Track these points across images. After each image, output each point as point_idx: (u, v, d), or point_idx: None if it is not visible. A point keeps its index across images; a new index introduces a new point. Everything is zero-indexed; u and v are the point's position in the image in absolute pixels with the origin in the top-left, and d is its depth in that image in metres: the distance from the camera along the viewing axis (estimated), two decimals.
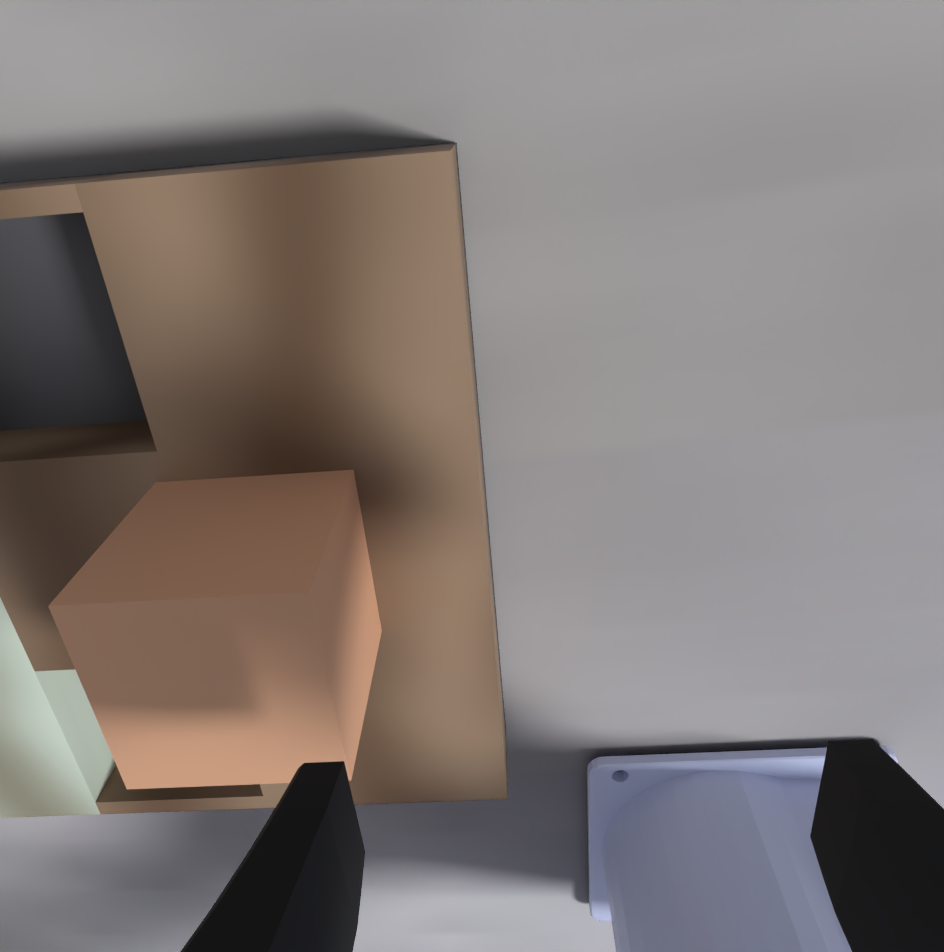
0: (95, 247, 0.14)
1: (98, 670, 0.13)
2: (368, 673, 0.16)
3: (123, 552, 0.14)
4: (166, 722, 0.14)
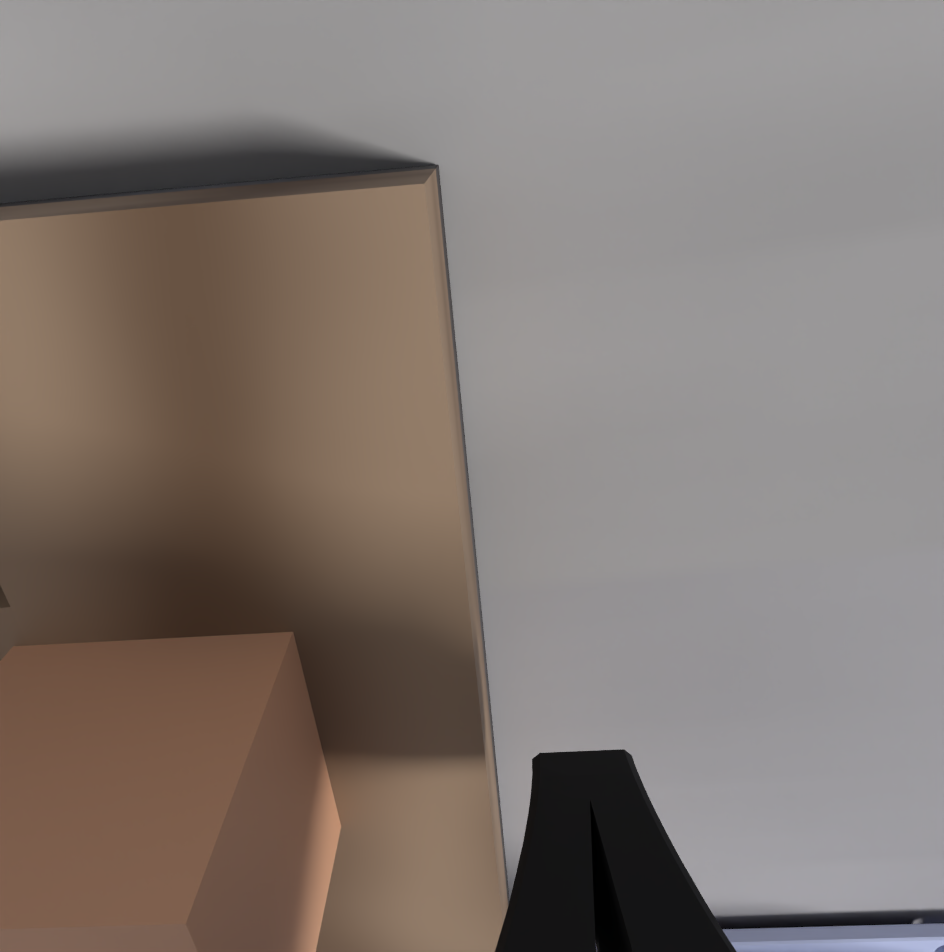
0: None
1: None
2: (315, 919, 0.12)
3: None
4: None
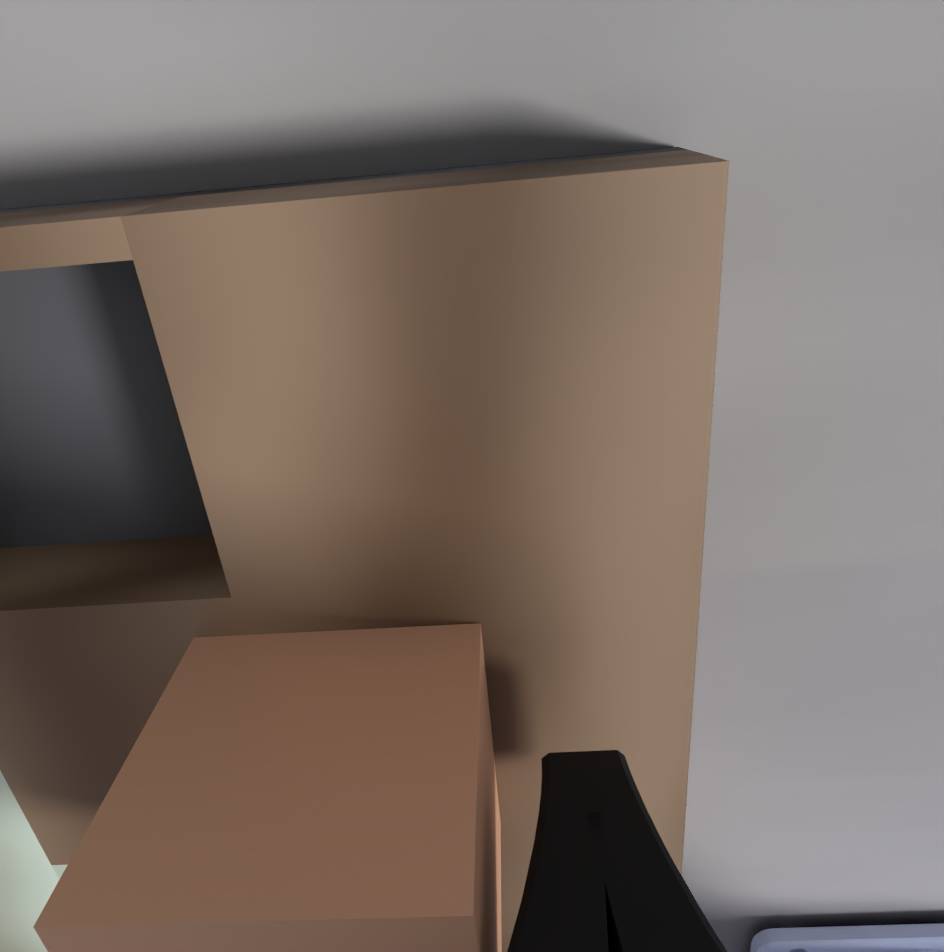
0: (150, 313, 0.09)
1: None
2: (500, 914, 0.11)
3: (153, 793, 0.09)
4: None
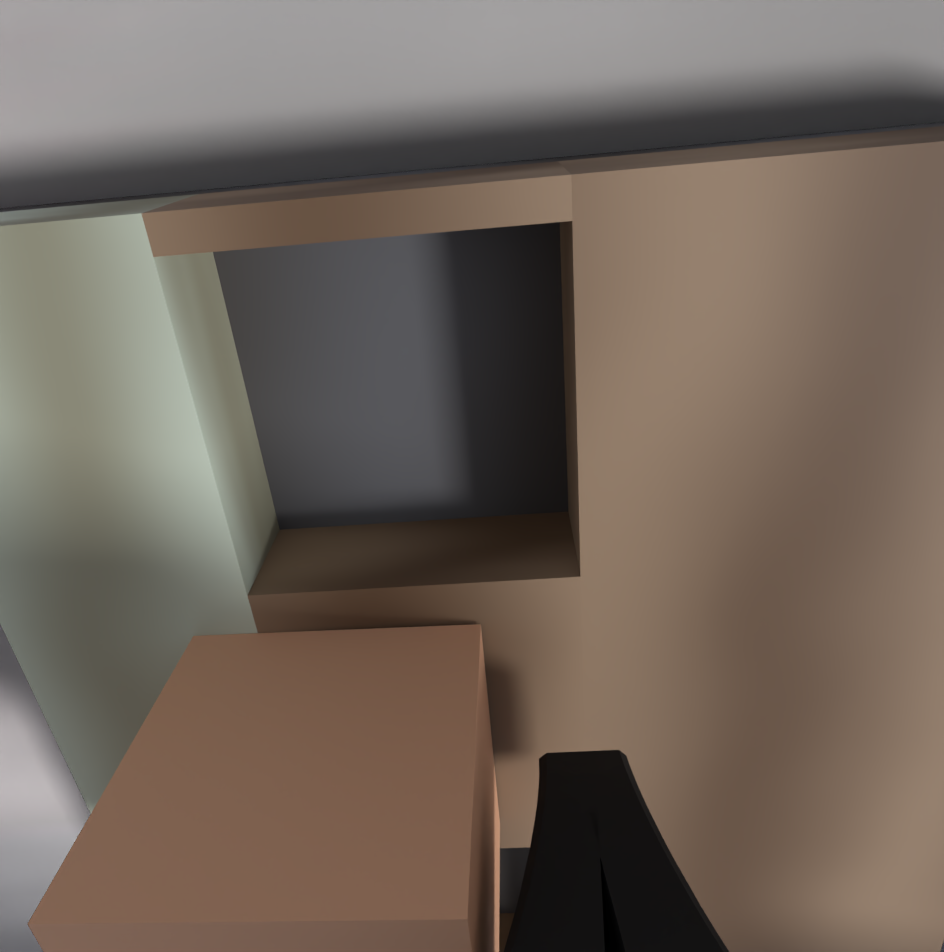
0: (578, 277, 0.09)
1: None
2: (498, 917, 0.11)
3: (150, 791, 0.09)
4: None
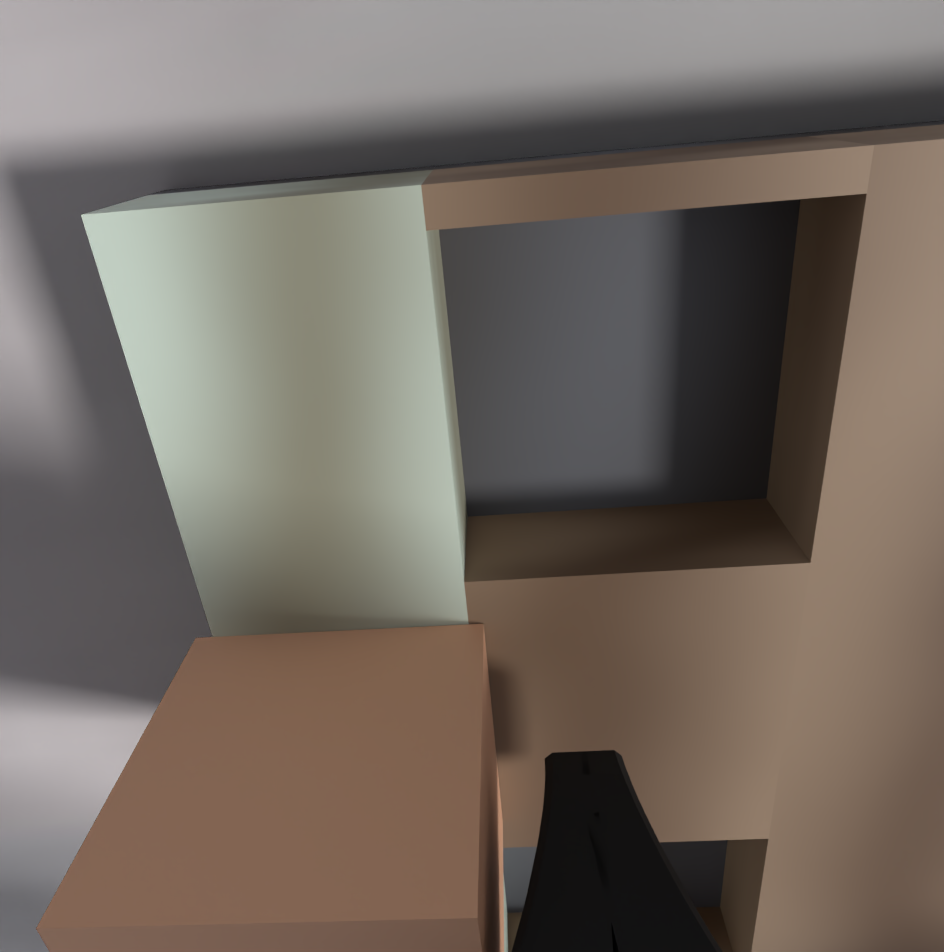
0: (863, 252, 0.09)
1: None
2: (502, 915, 0.11)
3: (156, 794, 0.09)
4: None
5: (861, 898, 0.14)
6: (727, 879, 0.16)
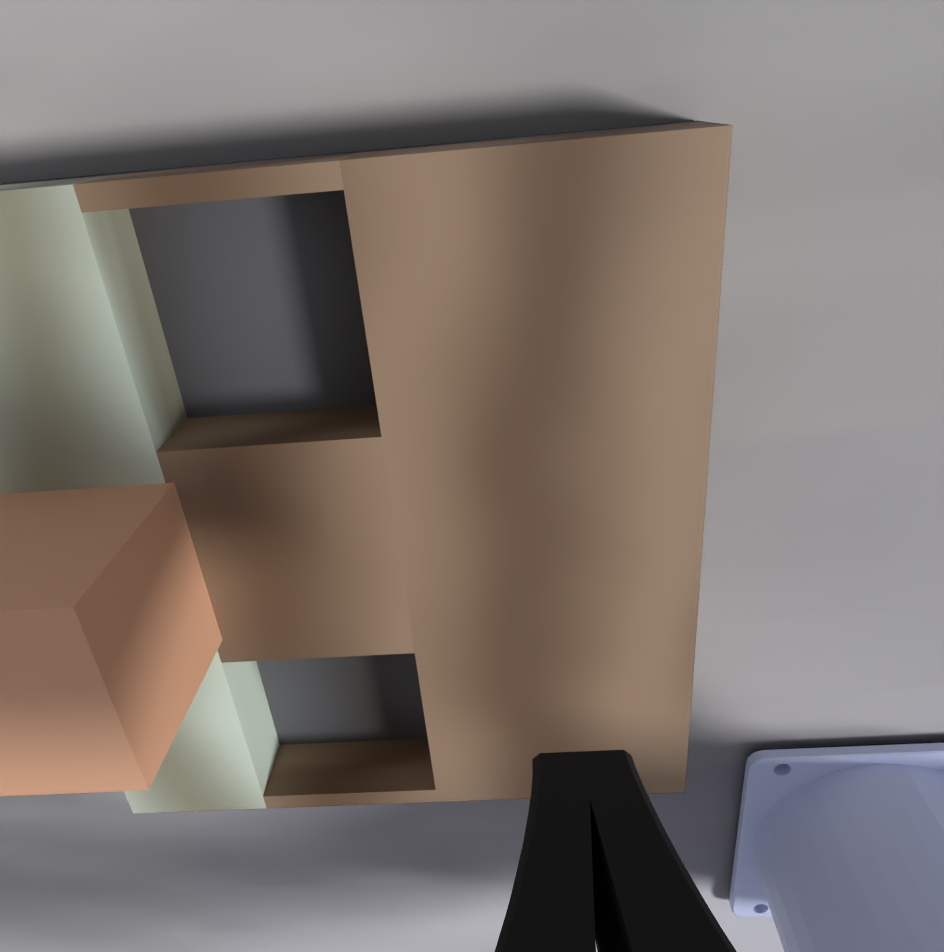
0: (351, 226, 0.14)
1: None
2: (191, 683, 0.17)
3: None
4: None
5: (495, 703, 0.19)
6: None
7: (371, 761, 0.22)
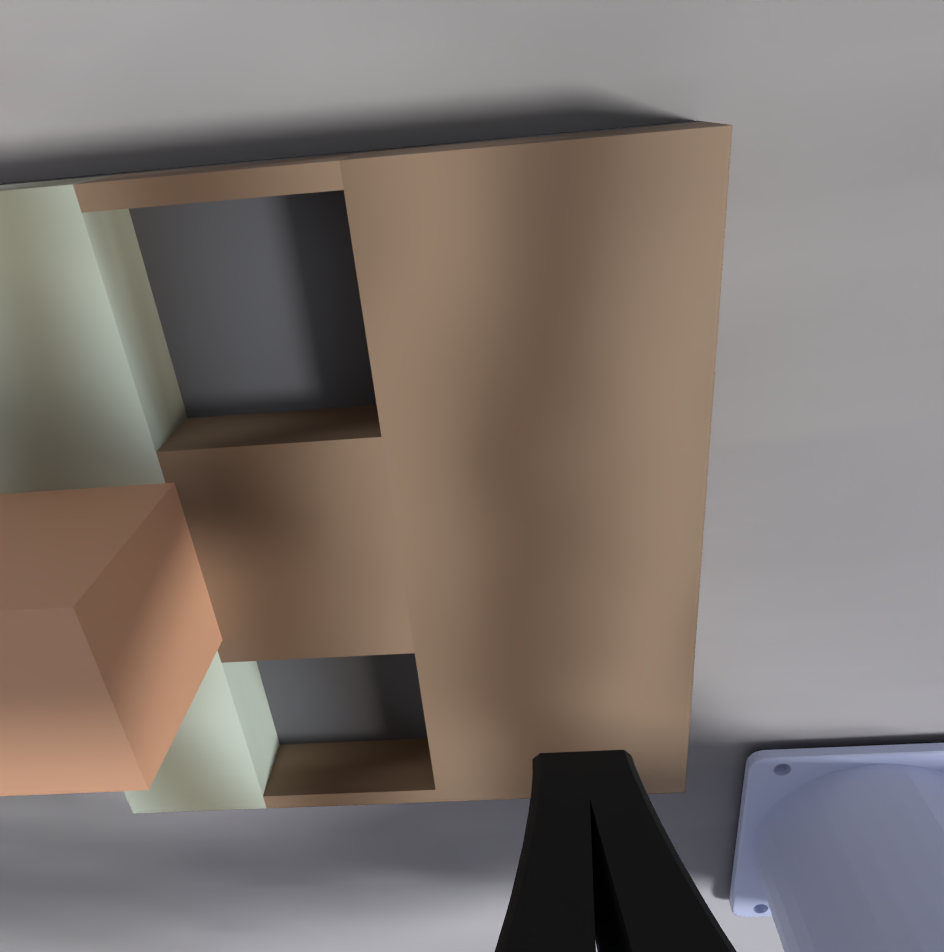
0: (351, 226, 0.14)
1: None
2: (191, 683, 0.17)
3: None
4: None
5: (495, 703, 0.19)
6: None
7: (371, 761, 0.22)
